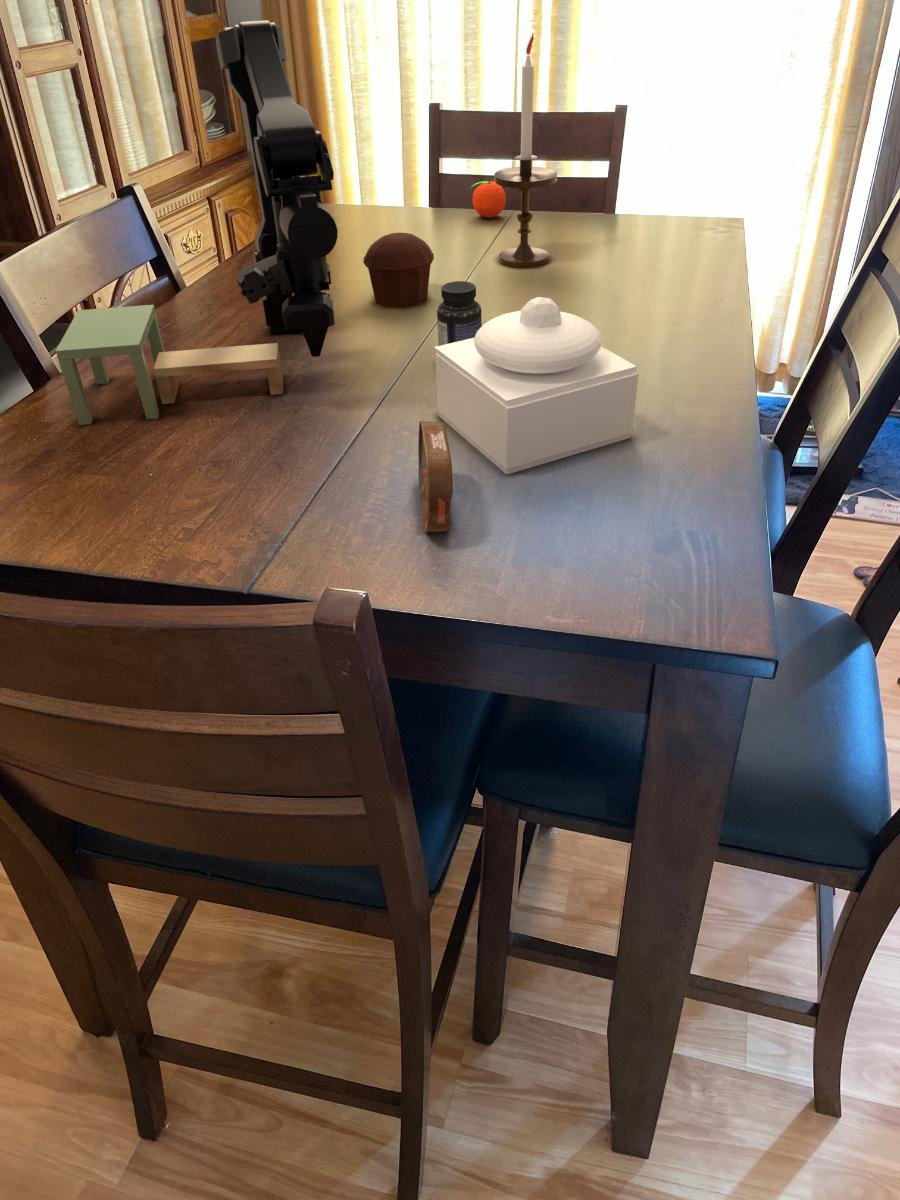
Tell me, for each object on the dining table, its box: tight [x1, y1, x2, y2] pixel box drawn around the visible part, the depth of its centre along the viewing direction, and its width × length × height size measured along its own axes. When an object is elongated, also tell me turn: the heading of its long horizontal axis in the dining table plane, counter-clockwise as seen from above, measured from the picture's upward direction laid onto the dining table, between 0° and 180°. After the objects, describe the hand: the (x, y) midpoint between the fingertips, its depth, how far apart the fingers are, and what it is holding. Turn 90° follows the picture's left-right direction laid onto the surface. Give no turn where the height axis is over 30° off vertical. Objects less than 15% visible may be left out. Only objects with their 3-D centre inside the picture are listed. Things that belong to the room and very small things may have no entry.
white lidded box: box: [433, 296, 640, 475], centre depth 105 cm, size 18×18×16 cm
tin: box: [418, 420, 454, 533], centre depth 92 cm, size 15×3×8 cm, turn 5°
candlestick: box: [493, 32, 558, 269], centre depth 150 cm, size 11×11×35 cm
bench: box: [153, 342, 284, 405], centre depth 119 cm, size 16×6×5 cm, turn 98°
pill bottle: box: [436, 280, 483, 346], centre depth 121 cm, size 6×6×11 cm
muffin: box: [362, 232, 435, 309], centre depth 143 cm, size 12×11×10 cm
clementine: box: [467, 179, 507, 219], centre depth 181 cm, size 8×7×7 cm
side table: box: [55, 304, 166, 426], centre depth 116 cm, size 10×14×10 cm
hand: (315, 355), depth 119 cm, fingers closed
